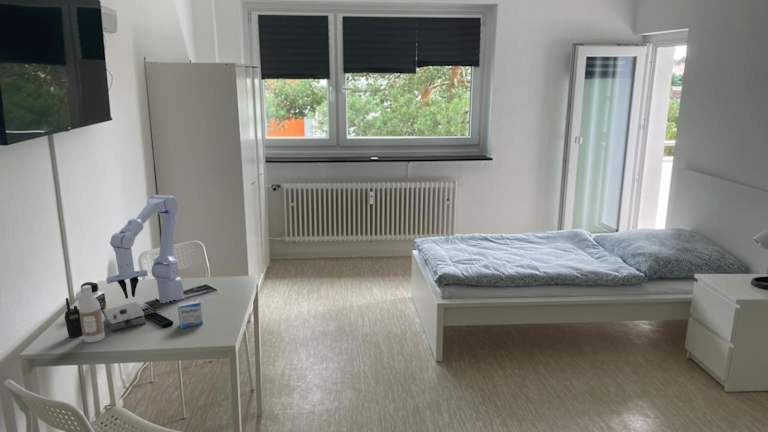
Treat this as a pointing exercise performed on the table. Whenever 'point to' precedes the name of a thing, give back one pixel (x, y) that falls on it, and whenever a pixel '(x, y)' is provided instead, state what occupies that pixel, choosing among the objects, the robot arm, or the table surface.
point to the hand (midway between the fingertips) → (130, 296)
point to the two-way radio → (73, 321)
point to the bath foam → (91, 316)
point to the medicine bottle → (95, 294)
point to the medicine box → (190, 313)
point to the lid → (122, 313)
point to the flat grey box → (126, 323)
